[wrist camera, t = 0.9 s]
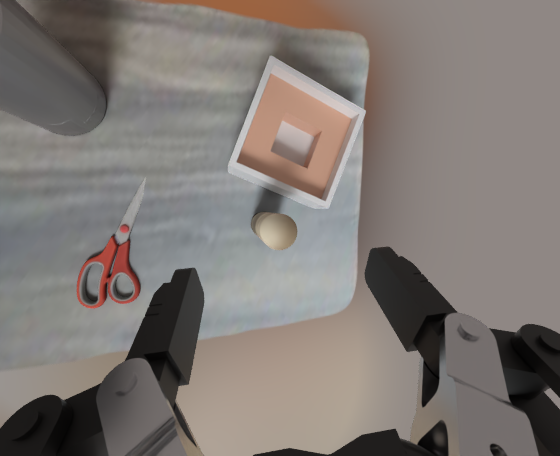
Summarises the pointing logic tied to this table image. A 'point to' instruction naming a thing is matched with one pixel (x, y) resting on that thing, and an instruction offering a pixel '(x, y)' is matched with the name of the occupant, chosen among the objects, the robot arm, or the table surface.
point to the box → (296, 137)
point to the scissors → (108, 257)
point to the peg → (274, 229)
